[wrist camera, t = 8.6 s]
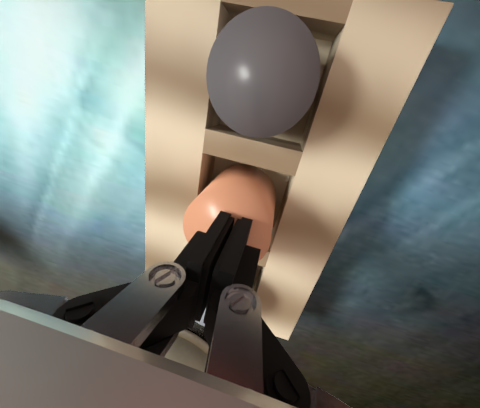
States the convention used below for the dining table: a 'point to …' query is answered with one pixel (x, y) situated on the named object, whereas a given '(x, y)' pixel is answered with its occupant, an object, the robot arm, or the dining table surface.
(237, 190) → the orange rounded cylinder
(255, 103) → the dark gray rounded cylinder
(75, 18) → the dining table surface
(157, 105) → the wooden tray
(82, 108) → the dining table surface
